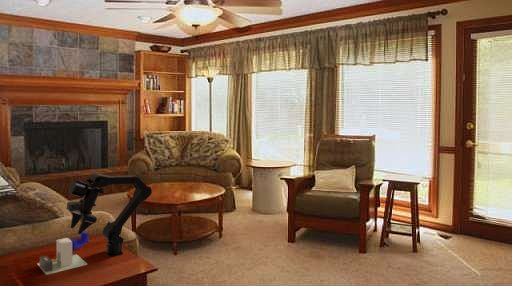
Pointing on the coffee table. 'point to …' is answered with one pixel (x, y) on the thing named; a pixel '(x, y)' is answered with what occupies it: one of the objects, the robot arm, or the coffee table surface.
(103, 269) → the coffee table surface
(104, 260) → the coffee table surface
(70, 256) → the plug housing
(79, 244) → the cable clip
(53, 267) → the board
